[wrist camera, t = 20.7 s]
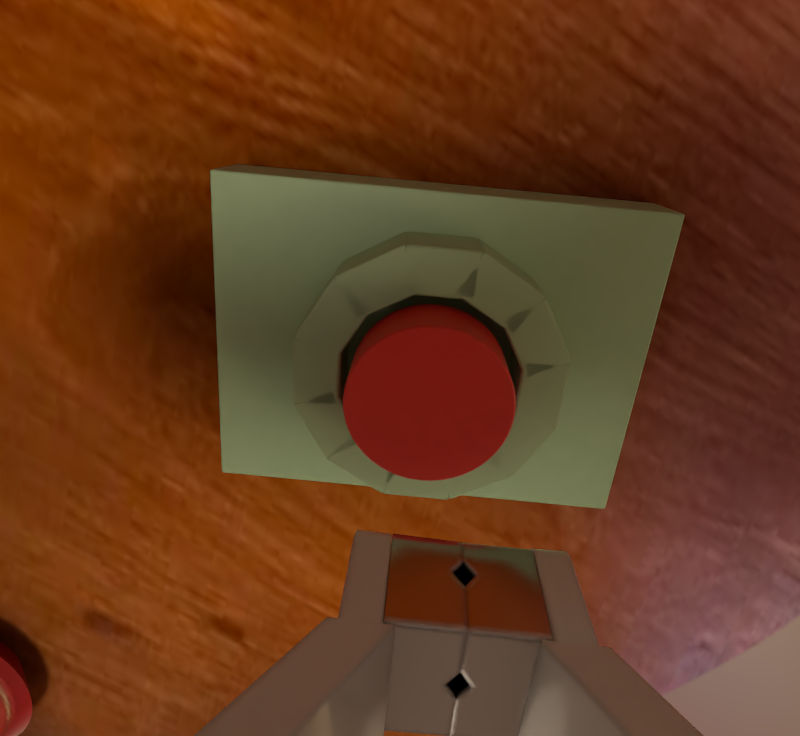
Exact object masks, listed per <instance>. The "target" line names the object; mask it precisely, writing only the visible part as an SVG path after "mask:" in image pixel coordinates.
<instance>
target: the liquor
mask: <svg viewBox="0 0 800 736" xmlns="http://www.w3.org/2000/svg"><path fill="white" fill-rule="evenodd" d="M31 715H32V700H31V697H30V693H29V689H28V685H27V682H26V678H25V674H24V670H23V667H22V664H21V662H20V660H19V658H18V656H17V655H16V654H15V653H14V652H13V650H12V649H11V648H10V647H8V646H7V645H6V644H5V643H4V642H2V641H1V640H0V736H18V735H19V734H20V733H22V732H23V731H24V729H25V728H26V727H27V725H28V724H29V721H30V718H31Z"/></svg>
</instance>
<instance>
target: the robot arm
mask: <svg viewBox="0 0 800 736" xmlns="http://www.w3.org/2000/svg"><path fill="white" fill-rule="evenodd" d="M391 537H392V544H391ZM390 549H391V553H390ZM389 560H390V563H389ZM388 571H389V573H388ZM384 730H386V731H398V732H411V733H423V734H436V735H448V736H449V735H450V736H703V735H702V734H701V733H700V732H699V731H698V730H697V729H696V728H695V727H693V726H692V725H691V723H689V722H688V721H687V720H686V719H685V718H684V717H683V716H682V715H681V714H680V713H679V712H678V711H677V710H676V709H675V708H674V707H673V706H672V705H671V704H670V703H668V702H667V701H666V700H665V699H664V698H663V697H662V696H661V695H660V694H659V693H658V692H657V691H656V690H655V689H654V688H653V687H652V686H651V685H650V684H648V683H647V682H646V681H645V680H644V679H643V678H642V677H641V676H640V675H639V674H638V673H637V672H636V671H635V670H634V669H633V668H632V667H631V666H630V665H629V664H627V663H626V662H625V661H624V660H623V659H622V658H621V657H620V656H619V655H618V654H617V653H616V652H615V651H614V650H613V649H612V648H610V647H602V646H599V644H598V641H597V638H596V635H595V632H594V629H593V625H592V622H591V619H590V616H589V613H588V610H587V607H586V604H585V600H584V597H583V594H582V591H581V588H580V585H579V582H578V579H577V576H576V572H575V569H574V566H573V563H572V560H571V557H570V555H569V554H568V553H567V552H566V551H555V550H542V549H530V550H528V549H520V548H510V547H500V546H490V545H480V544H470V543H461V542H454V541H446V540H438V539H431V538H423V537H415V536H407V535H399V534H393V536H392V535H391V534H388V533H379V532H371V531H363V530H357V532H356V534H355V536H354V540H353V545H352V550H351V555H350V560H349V565H348V570H347V575H346V580H345V586H344V591H343V596H342V601H341V606H340V611H339V616H338V618H330V617H327V618H326V619H324V620H323V621H322V622H321V623H320V624H319V625H318V626H317V627H315V628H314V629H313V630H312V631H311V632H310V633H309V634H308V635H306V636H305V637H304V638H303V639H302V640H301V641H300V642H299V643H297V644H296V645H295V646H294V647H293V648H292V649H291V650H290V651H288V652H287V653H286V654H285V655H284V656H283V657H282V658H281V659H279V660H278V661H277V662H276V663H275V664H274V665H273V666H272V667H271V668H269V669H268V670H267V671H266V672H265V673H264V674H263V675H262V676H260V677H259V678H258V679H257V680H256V681H255V682H254V683H253V684H251V685H250V686H249V687H248V688H247V689H246V690H245V691H244V692H242V693H241V694H240V695H239V696H238V697H237V698H236V699H235V700H233V701H232V702H231V703H230V704H229V705H228V706H227V707H226V708H224V709H223V710H222V711H221V712H220V713H219V714H218V715H217V716H215V717H214V718H213V719H212V720H211V721H210V722H209V723H208V724H207V725H205V726H204V727H203V728H202V729H201V730H200V731H199V732H198V733H196V734H195V735H194V736H383V735H384Z"/></svg>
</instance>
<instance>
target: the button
mask: <svg viewBox="0 0 800 736" xmlns="http://www.w3.org/2000/svg"><path fill="white" fill-rule="evenodd" d="M515 411H516V394H515V389H514V384H513V381H512V378H511V375H510V372H509V369H508V366H507V363H506V360H505V357H504V354H503V352H502V349H501V347H500V345H499V343H498V341H497V339H496V338H495V337H494V335H493V334H492V332H491V331H490V330H489V329H488V328H487V327H486V326H485V325H484V324H483V323H481V322H480V321H479V320H478V319H476V318H475V317H473V316H471V315H470V314H468V313H466V312H464V311H461V310H459V309H456V308H453V307H450V306H445V305H439V304H421V305H413V306H409V307H405V308H402V309H399V310H397V311H394V312H392V313H390V314H389V315H387V316H385V317H384V318H382V319H381V320H379V321H378V322H377V323H376V324H375V325H373V326H372V327H371V328H370V329H369V331H368V332H367V333H366V334H365V335H364V337H363V338H362V340H361V342H360V343H359V345H358V347H357V350H356V352H355V355H354V358H353V361H352V364H351V368H350V371H349V374H348V377H347V381H346V384H345V388H344V394H343V412H344V418H345V421H346V425H347V428H348V430H349V432H350V434H351V436H352V438H353V440H354V441H355V443H356V444H357V446H358V447H359V448H360V450H361V451H362V452H363V453H364V454H365V455H366V456H367V457H368V458H369V459H370V460H371V461H373V462H374V463H375V464H377V465H378V466H380V467H381V468H383V469H385V470H387V471H389V472H391V473H393V474H396V475H398V476H401V477H405V478H409V479H415V480H423V481H436V480H445V479H450V478H454V477H458V476H461V475H464V474H466V473H468V472H470V471H473V470H474V469H476V468H478V467H479V466H481V465H482V464H484V463H485V462H486V461H488V460H489V459H490V458H491V457H492V456H493V455H494V454H495V453H496V452H497V451H498V450H499V448H500V447H501V446H502V445H503V443H504V442H505V440H506V438H507V436H508V435H509V432H510V430H511V428H512V425H513V421H514V417H515Z"/></svg>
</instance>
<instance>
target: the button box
mask: <svg viewBox="0 0 800 736" xmlns="http://www.w3.org/2000/svg"><path fill="white" fill-rule="evenodd" d="M210 184H211V209H212V234H213V259H214V284H215V309H216V334H217V358H218V383H219V408H220V433H221V458H222V472H227V473H238V474H248V475H259V476H269V477H279V478H290V479H300V480H310V481H321V482H331V483H341V484H352V485H362V486H371V487H373V488H374V489H376V490H378V491H379V492H383V493H385V494H394V495H405V496H415V497H425V498H436V499H448V498H454V497H457V496H460V495H466V496H476V497H487V498H497V499H507V500H518V501H528V502H538V503H549V504H559V505H569V506H580V507H590V508H600V509H605V507H606V503H607V499H608V496H609V492H610V488H611V485H612V481H613V477H614V474H615V470H616V466H617V463H618V459H619V455H620V452H621V448H622V444H623V441H624V437H625V433H626V430H627V426H628V422H629V419H630V415H631V411H632V408H633V404H634V400H635V397H636V393H637V389H638V386H639V382H640V378H641V375H642V371H643V367H644V364H645V360H646V356H647V353H648V349H649V345H650V342H651V338H652V334H653V331H654V327H655V323H656V320H657V316H658V312H659V309H660V305H661V301H662V298H663V294H664V290H665V287H666V283H667V279H668V276H669V272H670V268H671V264H672V261H673V257H674V253H675V250H676V246H677V242H678V239H679V235H680V231H681V228H682V224H683V220H684V217H685V216H684V214H683V213H680V212H677V211H674V210H671V209H668V208H666V207H663V206H660V205H657V204H654V203H647V202H636V201H625V200H615V199H604V198H593V197H583V196H572V195H562V194H551V193H540V192H530V191H519V190H508V189H498V188H487V187H477V186H466V185H455V184H445V183H434V182H423V181H413V180H402V179H392V178H381V177H370V176H360V175H349V174H338V173H328V172H317V171H307V170H296V169H285V168H275V167H264V166H253V165H243V164H235V165H230V166H225V167H221V168H216V169H212V170H210ZM421 304H439V305H445V306H450V307H453V308H456V309H459V310H461V311H464V312H466V313H468V314H470V315H471V316H473V317H475V318H476V319H478V320H479V321H480V322H481V323H483V324H484V325H485V326H486V327H487V328H488V329H489V330H490V331H491V332H492V334H493V335H494V337H495V338H496V339H497V341H498V343H499V345H500V347H501V349H502V352H503V354H504V357H505V360H506V363H507V366H508V369H509V372H510V375H511V378H512V381H513V384H514V389H515V394H516V411H515V417H514V421H513V425H512V428H511V430H510V432H509V435H508V436H507V438H506V440H505V442H504V443H503V445H502V446H501V447H500V448H499V450H498V451H497V452H496V453H495V454H494V455H493V456H492V457H491V458H490V459H489V460H488V461H486V462H485V463H484V464H482V465H481V466H479V467H478V468H476V469H474V470H473V471H470V472H468V473H466V474H464V475H461V476H458V477H454V478H450V479H445V480H436V481H423V480H415V479H409V478H405V477H401V476H398V475H396V474H393V473H391V472H389V471H387V470H385V469H383V468H381V467H380V466H378V465H377V464H375V463H374V462H373V461H371V460H370V459H369V458H368V457H367V456H366V455H365V454H364V453H363V452H362V451H361V450H360V448H359V447H358V446H357V444H356V443H355V441H354V440H353V438H352V436H351V434H350V432H349V430H348V428H347V425H346V421H345V418H344V412H343V394H344V388H345V384H346V381H347V377H348V374H349V371H350V368H351V364H352V361H353V358H354V355H355V352H356V350H357V347H358V345H359V343H360V342H361V340H362V338H363V337H364V335H365V334H366V333H367V332H368V331H369V329H370V328H371V327H372V326H373V325H375V324H376V323H377V322H378V321H379V320H381V319H382V318H384V317H385V316H387V315H389V314H390V313H392V312H394V311H397V310H399V309H402V308H405V307H409V306H413V305H421Z"/></svg>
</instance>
